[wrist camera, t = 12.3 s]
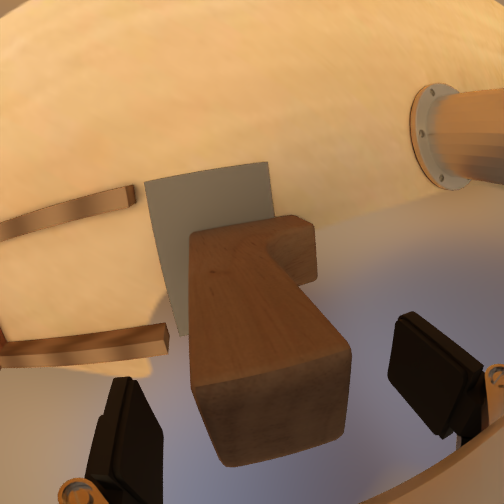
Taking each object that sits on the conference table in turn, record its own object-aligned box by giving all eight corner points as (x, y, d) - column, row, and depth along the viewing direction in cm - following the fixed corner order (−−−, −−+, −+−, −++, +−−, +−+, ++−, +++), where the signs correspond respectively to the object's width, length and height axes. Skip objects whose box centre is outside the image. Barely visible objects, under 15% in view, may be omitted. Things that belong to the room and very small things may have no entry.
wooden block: (294, 213, 25) (465, 300, 8) (299, 263, 26) (439, 394, 9) (188, 231, 23) (187, 387, 6) (198, 283, 25) (223, 473, 8)
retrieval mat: (266, 161, 23) (267, 161, 23) (283, 313, 28) (284, 315, 27) (144, 182, 22) (144, 182, 22) (179, 334, 26) (179, 336, 26)
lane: (133, 184, 22) (121, 187, 18) (169, 335, 26) (167, 361, 22) (-39, 237, 19) (-61, 247, 15) (4, 353, 23) (-10, 373, 19)
